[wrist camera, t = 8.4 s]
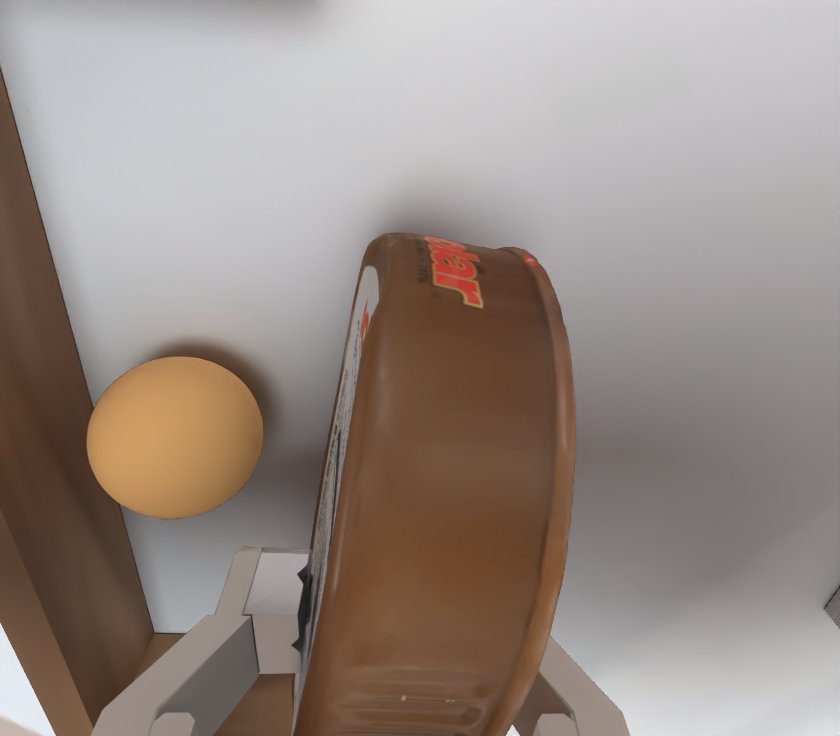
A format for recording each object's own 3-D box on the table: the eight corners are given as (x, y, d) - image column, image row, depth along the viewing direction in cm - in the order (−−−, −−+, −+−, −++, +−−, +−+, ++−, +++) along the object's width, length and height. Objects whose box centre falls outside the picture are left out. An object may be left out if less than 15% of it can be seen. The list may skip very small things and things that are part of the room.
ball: (34, 367, 11) (183, 312, 15) (55, 502, 13) (182, 427, 17) (178, 450, 10) (303, 371, 14) (177, 583, 12) (286, 486, 16)
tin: (370, 631, 19) (395, 991, 12) (277, 630, 18) (242, 1014, 11) (489, 199, 12) (742, 429, 5) (346, 170, 11) (374, 387, 4)
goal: (328, -96, 10) (288, -181, 6) (334, 656, 21) (320, 771, 18) (-127, -143, 9) (-435, -261, 6) (127, 652, 21) (72, 770, 17)
